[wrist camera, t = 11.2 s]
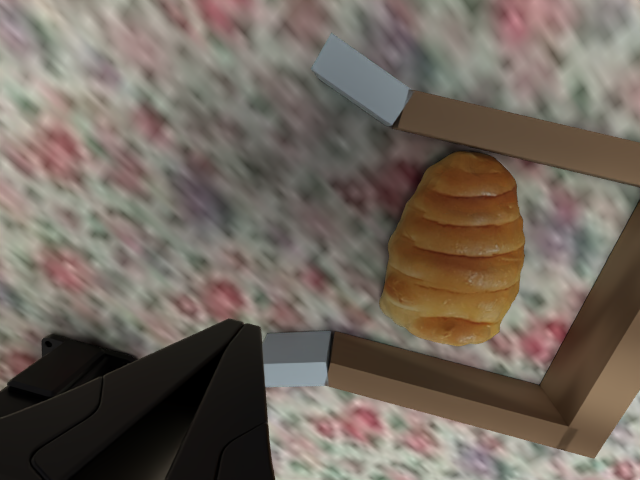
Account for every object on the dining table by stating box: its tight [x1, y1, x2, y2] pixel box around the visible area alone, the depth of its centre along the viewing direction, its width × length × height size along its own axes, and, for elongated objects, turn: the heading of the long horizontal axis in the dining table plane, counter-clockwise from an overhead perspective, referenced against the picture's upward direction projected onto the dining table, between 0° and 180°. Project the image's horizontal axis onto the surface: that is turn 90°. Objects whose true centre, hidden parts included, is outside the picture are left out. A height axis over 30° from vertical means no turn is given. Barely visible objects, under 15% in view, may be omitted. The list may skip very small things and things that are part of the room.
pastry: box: [379, 151, 525, 346], centre depth 17 cm, size 9×7×4 cm
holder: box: [262, 33, 640, 458], centre depth 17 cm, size 18×18×3 cm
